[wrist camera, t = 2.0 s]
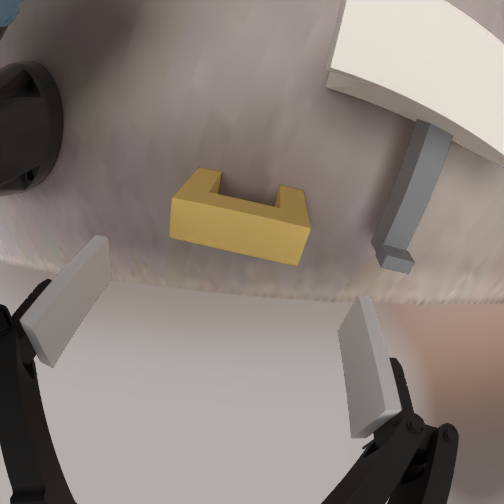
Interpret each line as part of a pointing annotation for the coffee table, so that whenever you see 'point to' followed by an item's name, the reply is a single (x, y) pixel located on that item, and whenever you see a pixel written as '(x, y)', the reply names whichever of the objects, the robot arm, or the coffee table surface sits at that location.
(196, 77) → the coffee table surface
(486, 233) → the coffee table surface
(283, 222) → the yellow u-shaped block
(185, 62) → the coffee table surface
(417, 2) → the shelf
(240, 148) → the coffee table surface
